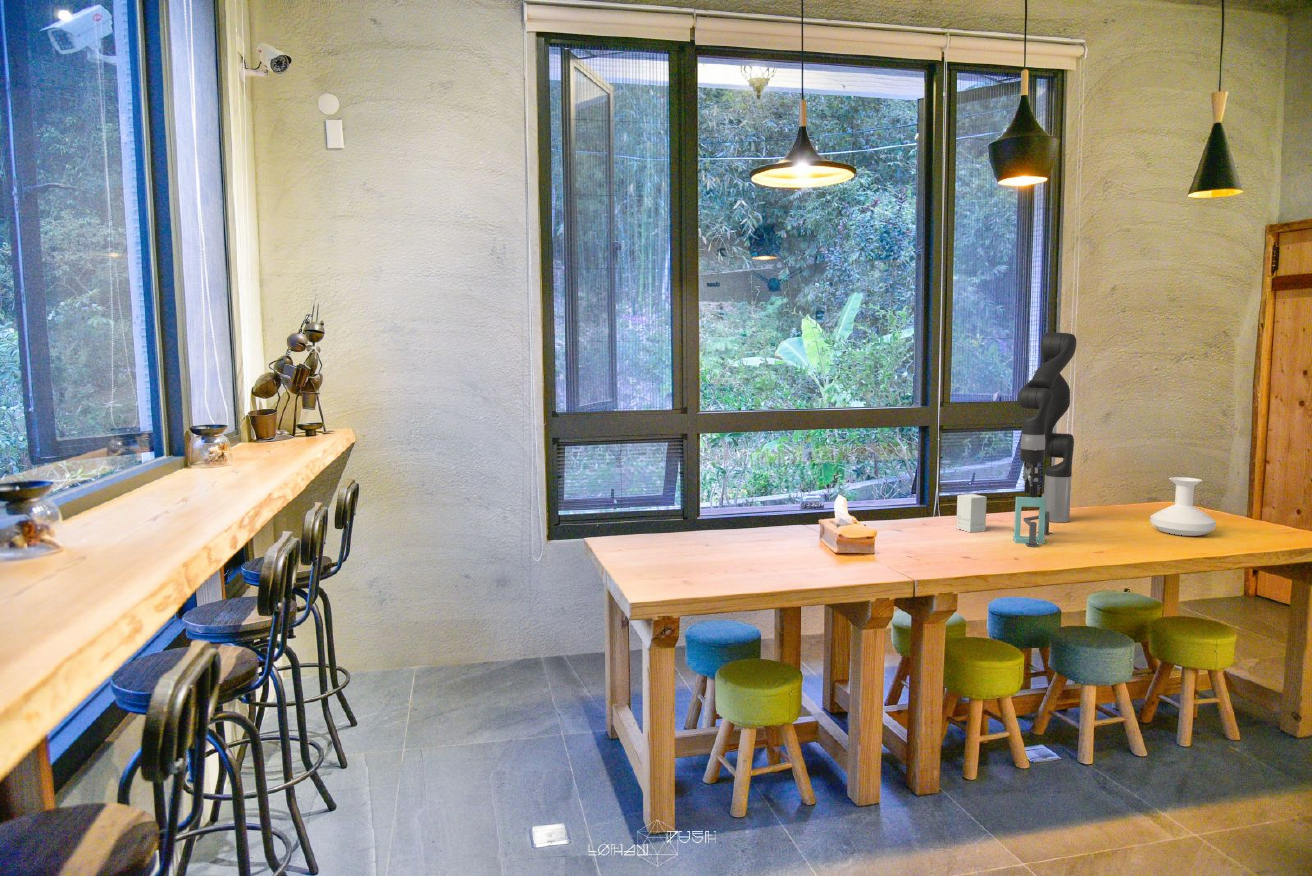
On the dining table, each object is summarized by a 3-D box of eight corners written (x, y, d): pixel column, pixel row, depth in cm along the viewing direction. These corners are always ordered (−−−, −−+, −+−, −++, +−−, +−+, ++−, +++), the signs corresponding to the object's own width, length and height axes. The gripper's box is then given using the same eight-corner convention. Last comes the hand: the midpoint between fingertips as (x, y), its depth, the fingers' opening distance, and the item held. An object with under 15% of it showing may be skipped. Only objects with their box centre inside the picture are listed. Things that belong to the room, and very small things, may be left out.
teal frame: (1013, 540, 301) (1014, 496, 300) (1041, 541, 300) (1043, 496, 298) (1015, 543, 297) (1017, 498, 296) (1044, 544, 296) (1046, 499, 294)
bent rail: (1014, 545, 294) (1015, 521, 293) (1030, 531, 316) (1031, 509, 315) (1038, 548, 290) (1039, 524, 289) (1053, 533, 312) (1054, 511, 311)
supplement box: (986, 531, 316) (987, 496, 314) (969, 533, 313) (971, 498, 312) (971, 527, 323) (973, 493, 321) (955, 529, 320) (956, 494, 319)
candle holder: (1136, 528, 320) (1139, 476, 318) (1181, 525, 325) (1184, 474, 323) (1182, 540, 301) (1186, 484, 299) (1229, 537, 306) (1232, 482, 304)
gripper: (1016, 444, 303) (1014, 491, 304) (1025, 449, 289) (1023, 498, 291) (1039, 445, 301) (1037, 491, 303) (1049, 450, 287) (1047, 499, 289)
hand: (1030, 495), depth 297 cm, fingers open, 8 cm apart
